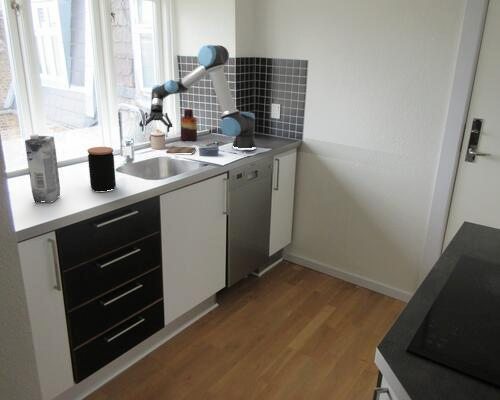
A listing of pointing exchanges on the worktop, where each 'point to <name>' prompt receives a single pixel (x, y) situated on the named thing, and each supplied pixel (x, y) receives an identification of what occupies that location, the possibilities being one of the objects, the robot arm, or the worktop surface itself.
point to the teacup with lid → (157, 140)
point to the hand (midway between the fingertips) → (155, 135)
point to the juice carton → (43, 168)
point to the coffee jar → (101, 168)
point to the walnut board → (181, 149)
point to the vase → (188, 126)
